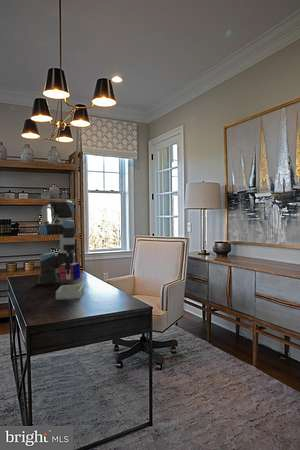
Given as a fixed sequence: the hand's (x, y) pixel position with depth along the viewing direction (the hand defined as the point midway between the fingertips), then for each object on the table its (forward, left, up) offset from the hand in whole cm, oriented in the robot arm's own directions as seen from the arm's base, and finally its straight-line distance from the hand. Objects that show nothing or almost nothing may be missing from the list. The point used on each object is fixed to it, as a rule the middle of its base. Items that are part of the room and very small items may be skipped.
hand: (70, 277), depth 218 cm
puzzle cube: (0, 0, -1) cm, 1 cm away
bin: (0, 0, -12) cm, 12 cm away
